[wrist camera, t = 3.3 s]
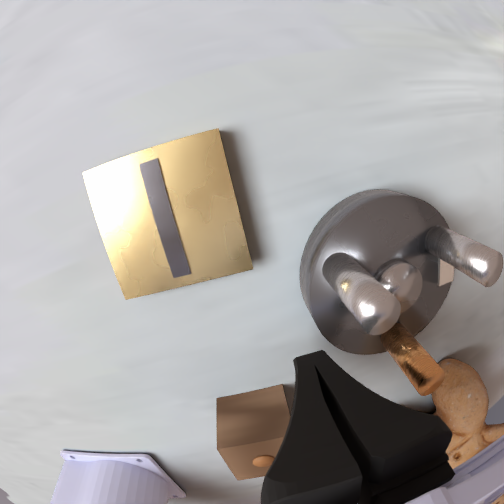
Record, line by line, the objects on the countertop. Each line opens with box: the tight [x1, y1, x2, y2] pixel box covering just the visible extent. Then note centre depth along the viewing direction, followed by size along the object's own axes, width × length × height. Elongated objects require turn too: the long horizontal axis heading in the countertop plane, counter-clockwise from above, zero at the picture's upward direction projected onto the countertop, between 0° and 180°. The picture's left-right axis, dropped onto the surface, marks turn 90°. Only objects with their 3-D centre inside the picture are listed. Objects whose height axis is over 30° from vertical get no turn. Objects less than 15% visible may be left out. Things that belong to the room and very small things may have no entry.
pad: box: [83, 128, 253, 300], centre depth 12 cm, size 6×6×1 cm
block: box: [217, 384, 290, 480], centre depth 15 cm, size 4×4×4 cm
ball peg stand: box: [300, 189, 503, 396], centre depth 12 cm, size 8×8×6 cm
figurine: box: [432, 358, 504, 504], centre depth 14 cm, size 11×9×15 cm
